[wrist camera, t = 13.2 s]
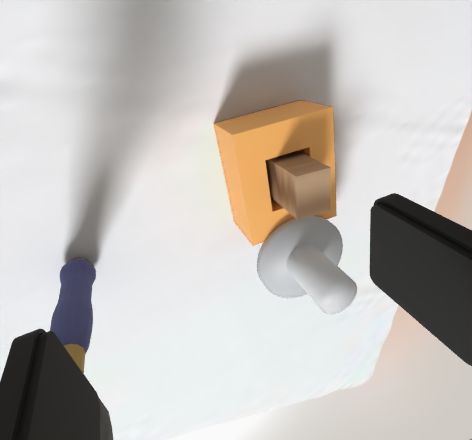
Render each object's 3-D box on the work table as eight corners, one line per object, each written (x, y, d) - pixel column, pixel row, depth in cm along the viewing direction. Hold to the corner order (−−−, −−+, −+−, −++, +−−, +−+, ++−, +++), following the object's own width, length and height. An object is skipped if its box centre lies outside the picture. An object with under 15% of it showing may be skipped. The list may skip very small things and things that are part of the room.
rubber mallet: (110, 303, 46) (118, 608, 21) (49, 309, 43) (-30, 668, 18) (110, 222, 41) (120, 489, 16) (41, 222, 38) (-81, 546, 13)
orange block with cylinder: (213, 123, 40) (268, 157, 27) (301, 99, 43) (392, 120, 29) (245, 276, 52) (295, 353, 39) (313, 250, 55) (381, 315, 41)
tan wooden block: (251, 148, 43) (296, 176, 33) (279, 141, 44) (330, 167, 34) (255, 183, 46) (297, 220, 36) (281, 176, 47) (330, 210, 37)
